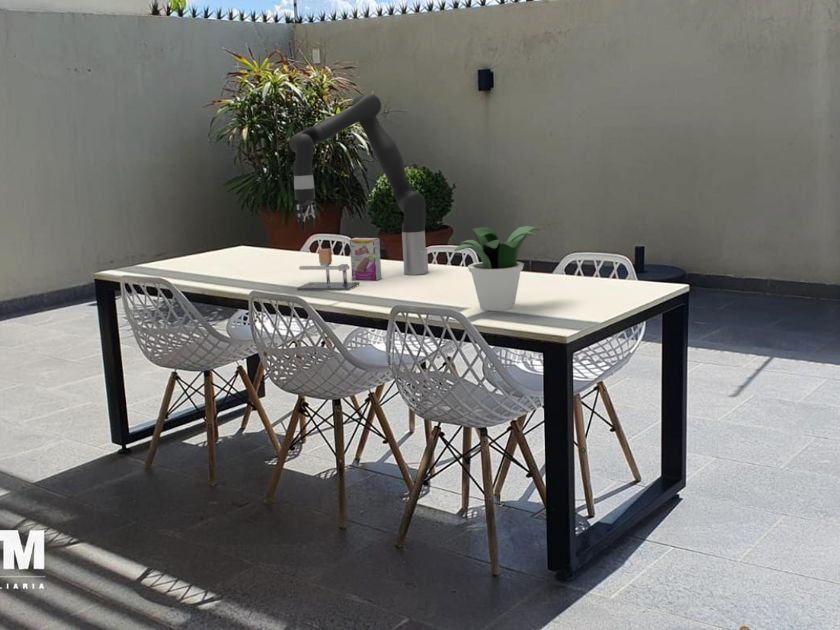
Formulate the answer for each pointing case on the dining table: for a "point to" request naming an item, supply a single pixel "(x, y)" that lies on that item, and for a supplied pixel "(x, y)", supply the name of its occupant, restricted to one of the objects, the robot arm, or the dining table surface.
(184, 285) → the dining table surface
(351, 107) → the robot arm
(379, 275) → the candy bar box
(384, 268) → the dining table surface
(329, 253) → the block
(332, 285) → the bolt plate
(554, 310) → the dining table surface
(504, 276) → the potted plant
